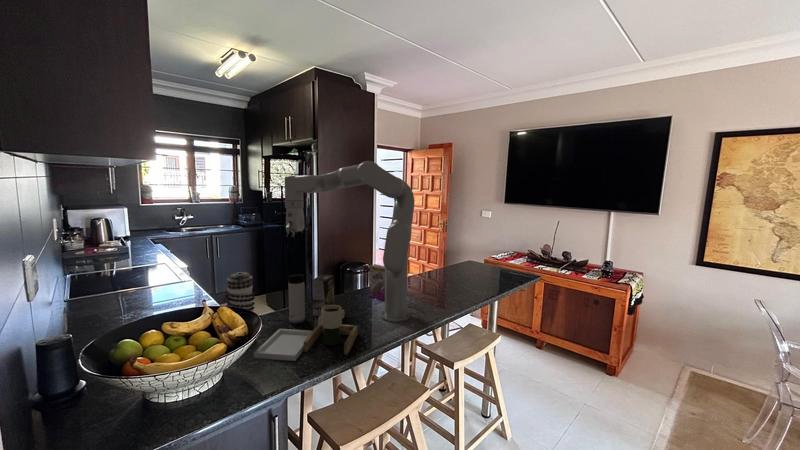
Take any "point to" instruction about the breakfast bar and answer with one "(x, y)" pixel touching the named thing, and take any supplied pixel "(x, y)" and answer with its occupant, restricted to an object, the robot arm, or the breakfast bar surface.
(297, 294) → the travel mug
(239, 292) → the decorative candle
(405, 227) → the robot arm
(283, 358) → the tray
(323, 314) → the character mug
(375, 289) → the candy bar box
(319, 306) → the coffee box
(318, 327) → the bay
